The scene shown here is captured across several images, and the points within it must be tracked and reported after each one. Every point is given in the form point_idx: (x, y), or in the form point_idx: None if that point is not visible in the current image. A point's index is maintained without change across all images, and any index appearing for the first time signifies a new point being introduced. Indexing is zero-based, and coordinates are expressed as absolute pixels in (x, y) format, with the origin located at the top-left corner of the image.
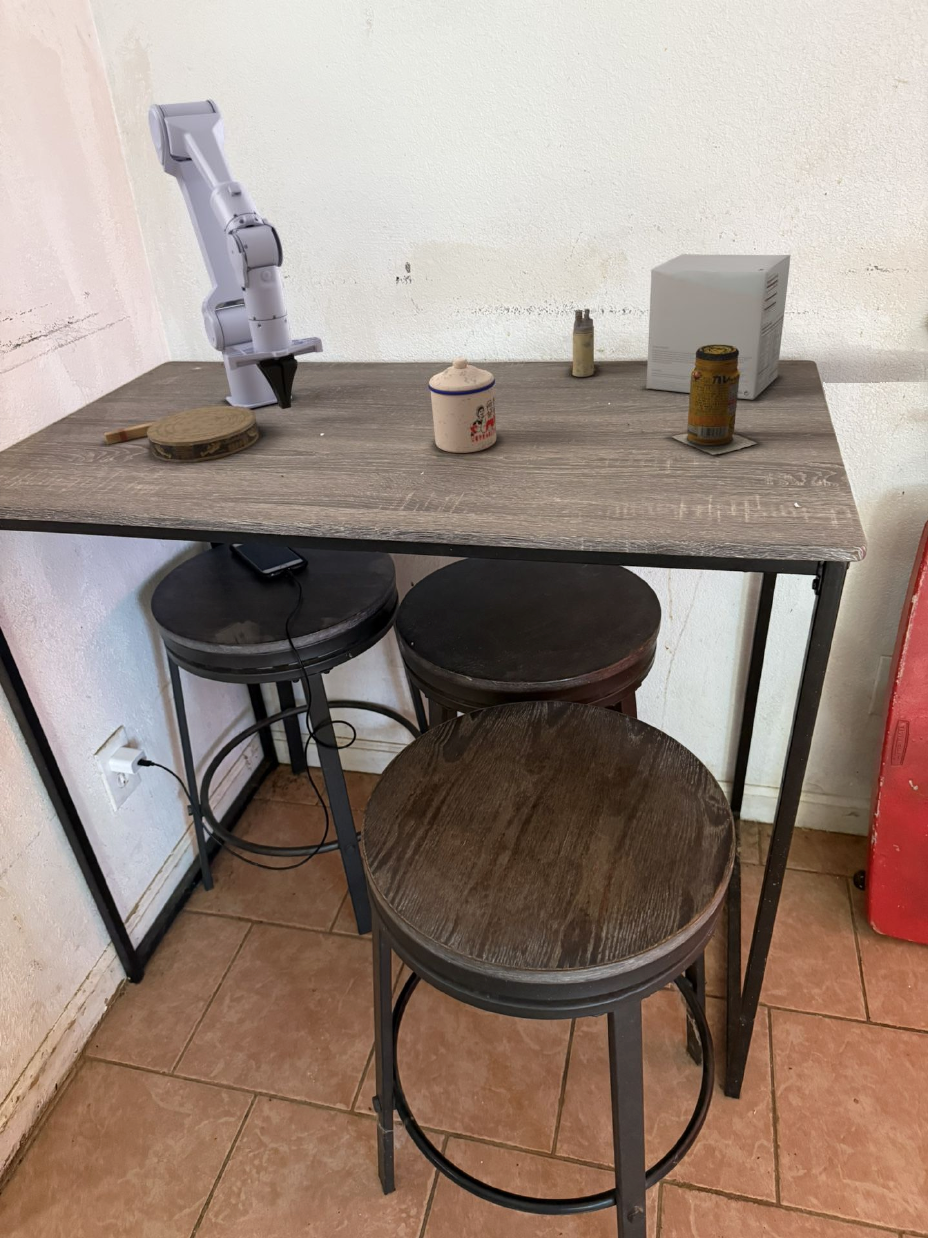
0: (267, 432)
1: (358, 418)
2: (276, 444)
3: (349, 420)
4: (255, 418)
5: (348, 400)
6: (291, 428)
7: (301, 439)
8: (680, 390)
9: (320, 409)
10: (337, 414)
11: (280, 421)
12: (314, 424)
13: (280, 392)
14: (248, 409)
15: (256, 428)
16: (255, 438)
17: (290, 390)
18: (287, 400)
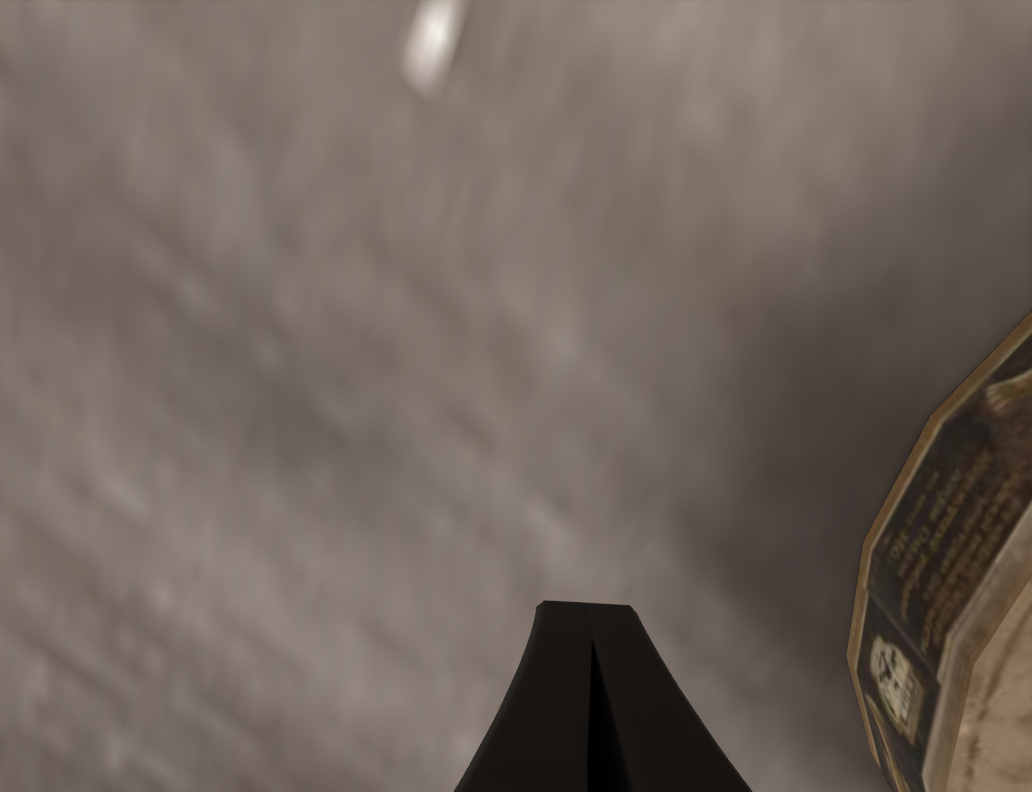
0: (813, 471)
1: (10, 244)
2: (926, 78)
3: (97, 251)
4: (937, 611)
5: (19, 698)
6: (606, 421)
7: (662, 38)
8: None
9: (254, 667)
10: (161, 474)
11: None
12: (403, 376)
13: (679, 741)
14: (958, 785)
15: (1007, 429)
16: (1024, 339)
17: (510, 727)
18: (576, 644)
